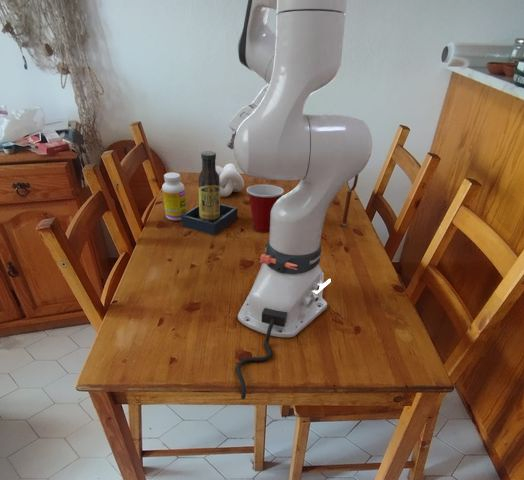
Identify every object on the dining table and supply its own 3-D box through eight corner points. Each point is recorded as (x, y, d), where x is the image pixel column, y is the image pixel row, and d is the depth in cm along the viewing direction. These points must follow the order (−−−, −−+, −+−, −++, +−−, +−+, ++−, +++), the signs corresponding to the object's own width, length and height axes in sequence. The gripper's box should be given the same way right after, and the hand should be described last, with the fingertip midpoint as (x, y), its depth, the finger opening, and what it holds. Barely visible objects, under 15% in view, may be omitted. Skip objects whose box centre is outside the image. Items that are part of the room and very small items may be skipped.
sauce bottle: (201, 226, 125) (196, 157, 112) (198, 217, 129) (193, 150, 116) (222, 224, 126) (220, 155, 113) (218, 215, 131) (216, 148, 118)
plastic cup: (282, 221, 130) (285, 182, 122) (280, 237, 122) (282, 197, 114) (248, 219, 131) (248, 180, 123) (243, 234, 123) (243, 194, 115)
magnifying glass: (349, 232, 126) (362, 163, 113) (343, 232, 126) (355, 163, 113) (343, 219, 133) (354, 153, 119) (338, 219, 132) (349, 153, 119)
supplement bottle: (183, 222, 127) (179, 180, 119) (162, 220, 128) (157, 178, 119) (189, 213, 132) (186, 172, 124) (169, 211, 133) (164, 170, 124)
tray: (214, 235, 122) (214, 224, 119) (182, 226, 125) (181, 215, 123) (237, 218, 131) (237, 207, 129) (206, 210, 135) (205, 200, 132)
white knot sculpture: (222, 202, 139) (221, 175, 133) (201, 192, 146) (199, 165, 140) (247, 194, 145) (248, 168, 139) (226, 184, 152) (225, 159, 146)
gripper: (242, 94, 120) (213, 134, 123) (279, 110, 107) (246, 155, 110) (255, 110, 125) (227, 149, 128) (292, 127, 112) (260, 169, 115)
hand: (236, 152), depth 119 cm, fingers open, 8 cm apart
